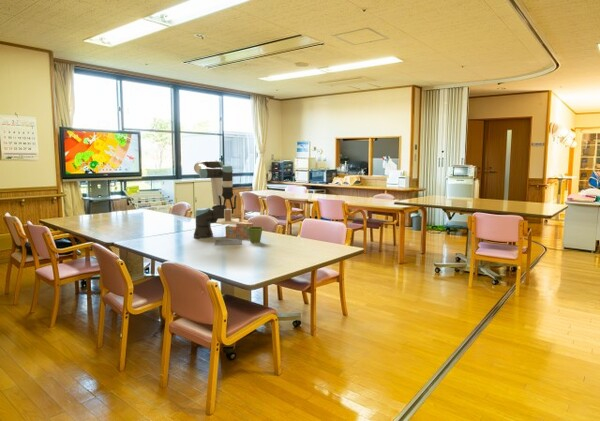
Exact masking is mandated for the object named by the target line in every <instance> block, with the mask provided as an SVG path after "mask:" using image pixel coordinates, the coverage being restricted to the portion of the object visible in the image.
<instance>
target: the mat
mask: <svg viewBox="0 0 600 421" xmlns="http://www.w3.org/2000/svg"><path fill="white" fill-rule="evenodd" d="M241 245H242V246H243V238H242V239H241V238H240V239H239V238H237V239H215V241H214V244H213V246H218V247H219V246H241Z"/></svg>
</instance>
